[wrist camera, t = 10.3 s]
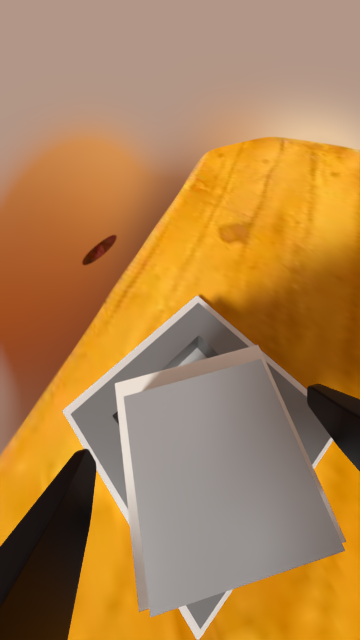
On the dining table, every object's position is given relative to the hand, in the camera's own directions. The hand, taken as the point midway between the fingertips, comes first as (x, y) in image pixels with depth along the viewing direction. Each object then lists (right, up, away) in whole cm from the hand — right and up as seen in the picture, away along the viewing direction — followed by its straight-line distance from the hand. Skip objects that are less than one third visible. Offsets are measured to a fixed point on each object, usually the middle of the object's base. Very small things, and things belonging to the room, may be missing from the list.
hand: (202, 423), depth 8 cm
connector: (0, -4, +8) cm, 9 cm away
